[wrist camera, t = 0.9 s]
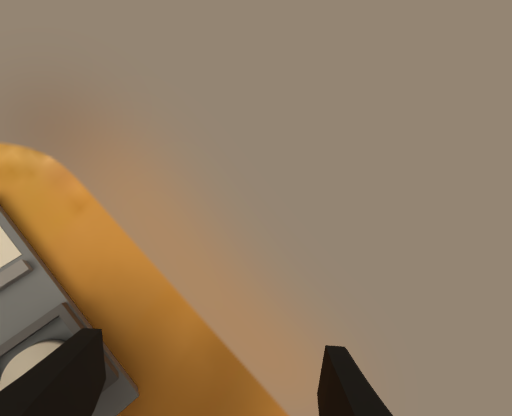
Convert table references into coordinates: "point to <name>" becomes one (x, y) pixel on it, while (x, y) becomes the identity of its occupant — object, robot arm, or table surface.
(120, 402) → the control panel
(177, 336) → the table surface
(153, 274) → the table surface
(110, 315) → the table surface
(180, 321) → the table surface
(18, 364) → the cream button
